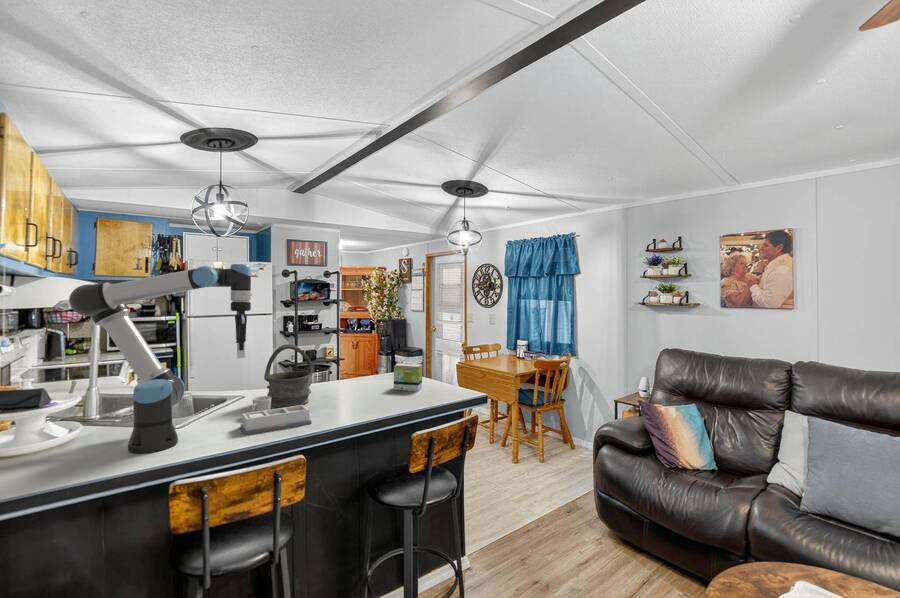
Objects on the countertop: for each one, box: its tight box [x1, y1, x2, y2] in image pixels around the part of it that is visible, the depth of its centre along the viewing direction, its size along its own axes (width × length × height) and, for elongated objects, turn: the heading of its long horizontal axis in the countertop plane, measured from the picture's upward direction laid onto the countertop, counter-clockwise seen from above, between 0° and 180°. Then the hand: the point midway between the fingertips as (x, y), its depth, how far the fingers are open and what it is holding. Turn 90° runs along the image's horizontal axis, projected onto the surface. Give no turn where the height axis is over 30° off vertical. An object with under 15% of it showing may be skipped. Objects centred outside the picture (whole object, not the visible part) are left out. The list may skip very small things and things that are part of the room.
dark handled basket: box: [263, 343, 315, 409], centre depth 217 cm, size 22×23×30 cm
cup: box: [250, 395, 272, 412], centre depth 194 cm, size 11×8×8 cm
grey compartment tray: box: [239, 404, 312, 436], centre depth 181 cm, size 26×12×6 cm, turn 125°
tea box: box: [393, 362, 423, 392], centre depth 250 cm, size 15×10×15 cm, turn 81°
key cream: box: [248, 413, 264, 418], centre depth 176 cm, size 5×5×2 cm
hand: (240, 357), depth 177 cm, fingers closed
